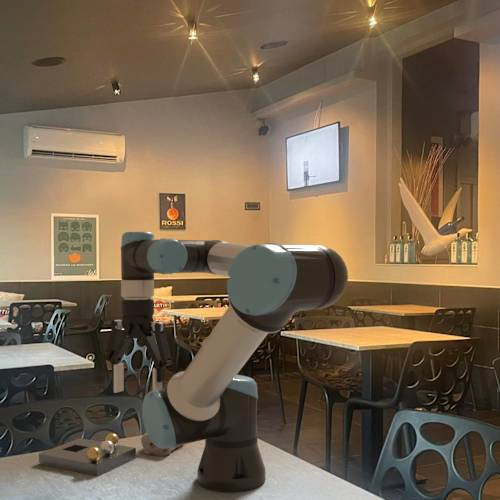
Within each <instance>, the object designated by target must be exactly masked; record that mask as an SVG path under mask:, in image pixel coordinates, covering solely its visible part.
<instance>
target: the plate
mask: <svg viewBox="0 0 500 500" xmlns="http://www.w3.org/2000/svg"><path fill="white" fill-rule="evenodd" d="M103 442H104V441H99V440H92V439H87V438H83V437H79V438H77V439H74V440H72V441H69V442H66V443H64V444H60V445H58V446H55V447H52V448H49V449H46V450H45V451H43V452H39V453H38V464H39V463H40V464H39V465H41V464H43V465H42V466H46V465H48V466H47V467H51V466H52V467H51V468H55V467H57V468H56V469H60V468H61V470H65V469H66V471H71V472H75V473H81V474H85V475H89V476H90V475H91V476H94V477H99V476H100V475H103V474H105V473H107V472H109V471H112V470H115V468H118V467H120V466H122V465H125V464H126V463H128V462H130V461H133V460H135V459H136V458H137V448H136V447H133V446H127V445H123V444H122V445H121V444H117V445H115V446H114V450H113V452H112V453H111V454H108V455H106V454H103V453H102V452H101V456H100V458H99V459H98V460H97V461H94V462H92V461H90V460H88V458H87V451H88V450H89V449H90V448H92V447H97V448H99V449H100V451H101V444H102V443H103Z"/></svg>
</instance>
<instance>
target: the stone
mask: <svg viewBox="0 0 500 500" xmlns="http://www.w3.org/2000/svg"><path fill="white" fill-rule="evenodd" d="M141 445H142V448H143V453H144V454H145V455H148V456H149V455H150V456H151V455H155V456H160V457H165V456H168V455H171V453H172V452H173V451H174V450H175V449H177V448H181V447H182V446H184V445H180V446H176V447H175V448H172V447H170V448H164V449H162V448H158V447H157V446H156V445H154V444H153V443H152V442H151V440H150V438H149V437H148V434H147V432H145V433H143V435H142V436H141Z"/></svg>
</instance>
